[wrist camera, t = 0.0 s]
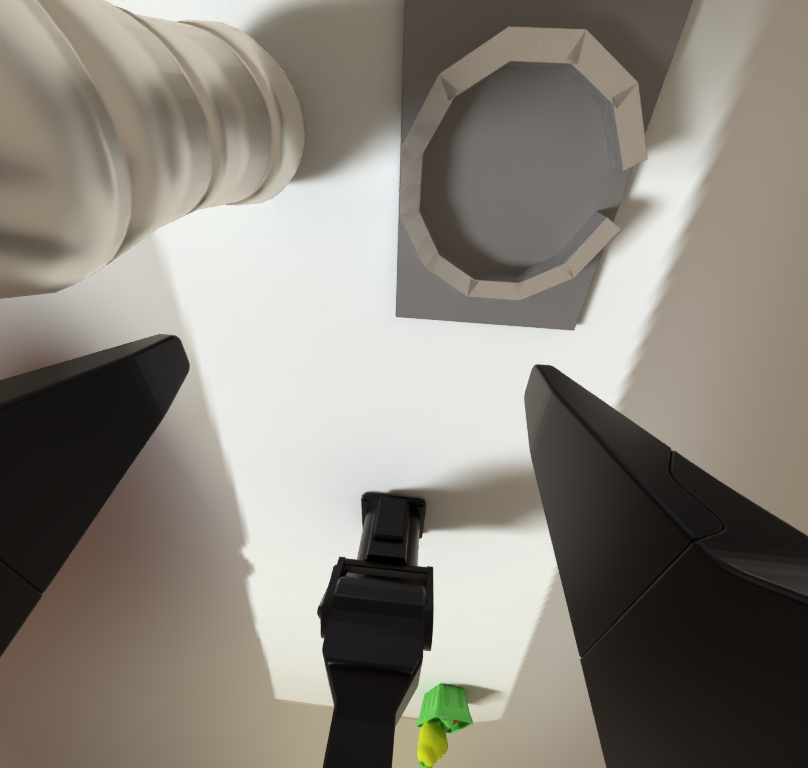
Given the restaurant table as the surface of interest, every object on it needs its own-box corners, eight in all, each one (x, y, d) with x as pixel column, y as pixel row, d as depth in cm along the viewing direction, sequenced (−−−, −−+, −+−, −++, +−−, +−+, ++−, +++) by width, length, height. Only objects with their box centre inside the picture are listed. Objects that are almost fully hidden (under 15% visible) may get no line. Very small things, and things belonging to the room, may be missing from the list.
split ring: (583, 294, 22) (592, 305, 20) (399, 281, 22) (397, 291, 21) (673, 41, 15) (694, 33, 14) (408, 31, 16) (405, 23, 14)
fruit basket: (450, 701, 76) (451, 780, 67) (411, 693, 75) (406, 771, 66) (473, 688, 69) (477, 773, 60) (430, 678, 68) (428, 763, 59)
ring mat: (571, 326, 23) (573, 330, 23) (396, 313, 24) (395, 316, 24) (700, -40, 14) (709, -46, 14) (407, -47, 15) (406, -53, 14)
